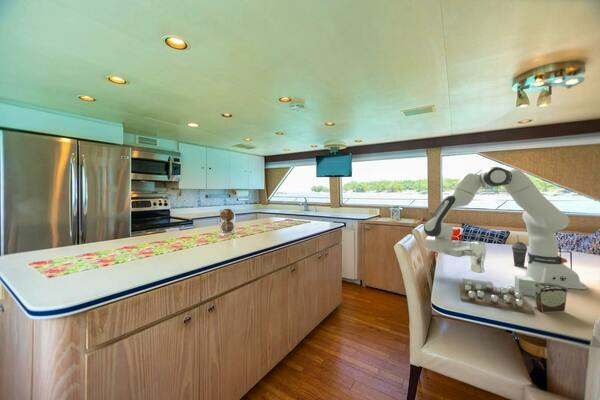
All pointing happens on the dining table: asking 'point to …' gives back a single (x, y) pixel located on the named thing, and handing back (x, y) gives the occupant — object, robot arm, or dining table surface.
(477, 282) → the grey mat
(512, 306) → the board
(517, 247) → the beverage cup
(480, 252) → the silver metal tumbler
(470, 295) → the spacers
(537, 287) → the food container
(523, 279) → the skincare box
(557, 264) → the robot arm
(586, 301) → the dining table surface
